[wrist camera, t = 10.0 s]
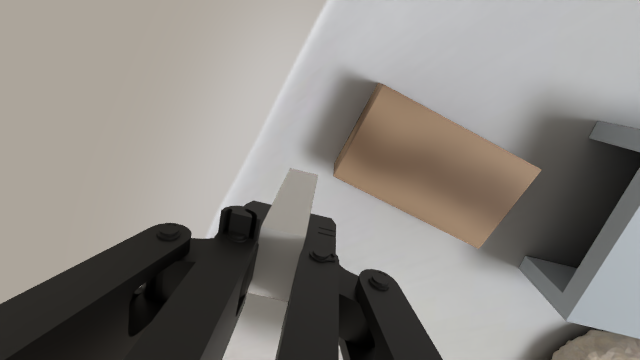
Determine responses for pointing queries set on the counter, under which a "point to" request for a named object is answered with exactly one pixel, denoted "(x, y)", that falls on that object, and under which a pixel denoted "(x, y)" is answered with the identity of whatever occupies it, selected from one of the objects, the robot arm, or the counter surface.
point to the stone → (600, 347)
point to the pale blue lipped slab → (601, 260)
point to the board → (432, 167)
